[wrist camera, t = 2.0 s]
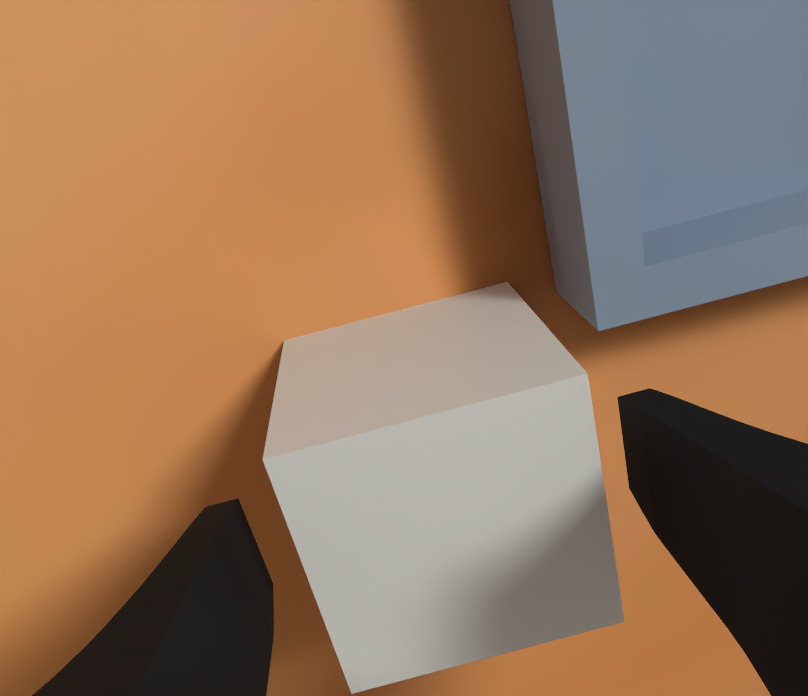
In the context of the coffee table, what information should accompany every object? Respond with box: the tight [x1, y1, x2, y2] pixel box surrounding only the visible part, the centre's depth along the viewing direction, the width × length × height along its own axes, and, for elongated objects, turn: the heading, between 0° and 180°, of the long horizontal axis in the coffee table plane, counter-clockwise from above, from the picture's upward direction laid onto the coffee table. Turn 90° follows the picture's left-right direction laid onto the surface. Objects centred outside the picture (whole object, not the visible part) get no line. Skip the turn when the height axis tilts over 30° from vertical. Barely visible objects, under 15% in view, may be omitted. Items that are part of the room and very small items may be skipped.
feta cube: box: [262, 282, 624, 694], centre depth 13 cm, size 5×5×5 cm
